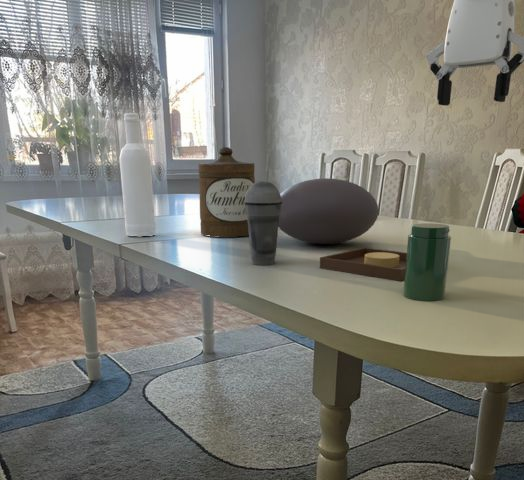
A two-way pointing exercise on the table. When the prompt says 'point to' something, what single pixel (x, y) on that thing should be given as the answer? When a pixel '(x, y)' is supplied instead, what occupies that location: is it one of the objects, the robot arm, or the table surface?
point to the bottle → (136, 181)
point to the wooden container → (224, 195)
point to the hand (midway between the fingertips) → (470, 103)
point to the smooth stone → (326, 211)
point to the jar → (427, 262)
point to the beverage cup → (263, 220)
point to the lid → (382, 259)
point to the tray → (364, 264)
